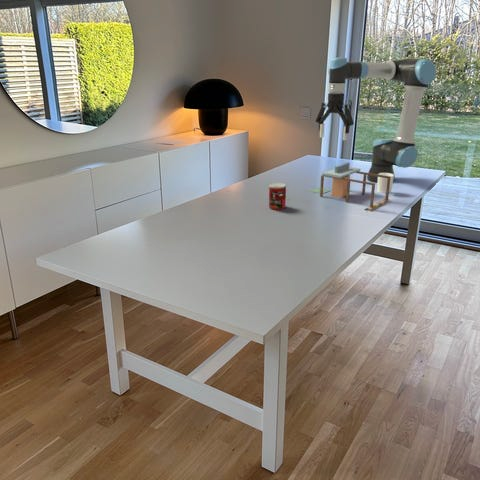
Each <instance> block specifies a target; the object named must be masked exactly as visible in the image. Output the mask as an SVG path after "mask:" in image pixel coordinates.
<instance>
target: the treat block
mask: <svg viewBox="0 0 480 480" xmlns="http://www.w3.org/2000/svg"><path fill="white" fill-rule="evenodd" d="M342 178H348V179H351V174H350V175H348V176H345V177H342ZM331 187H332V188H331V195H332V196H331V197H333V196H337V197H336V198H338V197H342V198H341V199H344V198H343V197H345V196H346V193H347V181H346V180H341V179H335V178H332V186H331Z"/></svg>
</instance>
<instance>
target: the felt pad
mask: <svg viewBox="0 0 480 480" xmlns="http://www.w3.org/2000/svg"><path fill="white" fill-rule="evenodd" d="M308 192H311V193H315V194H319V195H320V187H316V188H313V189H310V190H308ZM328 192H332V189H331V190H330V189H326V188H323V195H324V194H326V193H328Z"/></svg>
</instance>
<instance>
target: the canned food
mask: <svg viewBox="0 0 480 480" xmlns="http://www.w3.org/2000/svg"><path fill="white" fill-rule="evenodd" d="M268 186H269V187H268V207H269V209H271V210H273V211H274V210H275V211H280V210H284V209H285V208H286V197H287V195H286V194H287V193H286V192H287V185H286V184H285V183H282V182H272V183H270V184H269V185H268Z"/></svg>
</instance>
